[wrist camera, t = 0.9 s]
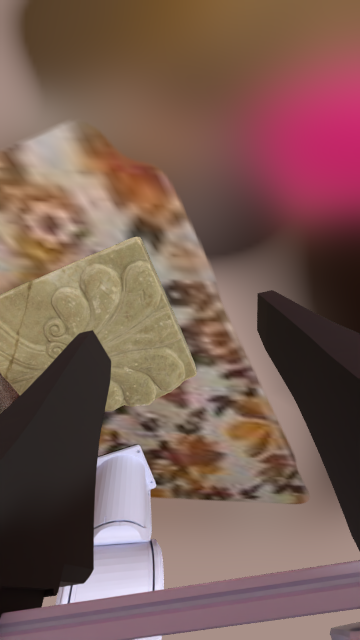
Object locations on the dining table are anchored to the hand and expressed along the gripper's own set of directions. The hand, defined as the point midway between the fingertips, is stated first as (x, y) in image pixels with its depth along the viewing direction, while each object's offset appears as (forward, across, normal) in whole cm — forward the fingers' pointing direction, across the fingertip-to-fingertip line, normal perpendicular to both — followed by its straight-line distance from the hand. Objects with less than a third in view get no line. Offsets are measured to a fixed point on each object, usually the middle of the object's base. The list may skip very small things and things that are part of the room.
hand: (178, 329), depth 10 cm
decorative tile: (+14, +11, +11) cm, 21 cm away
